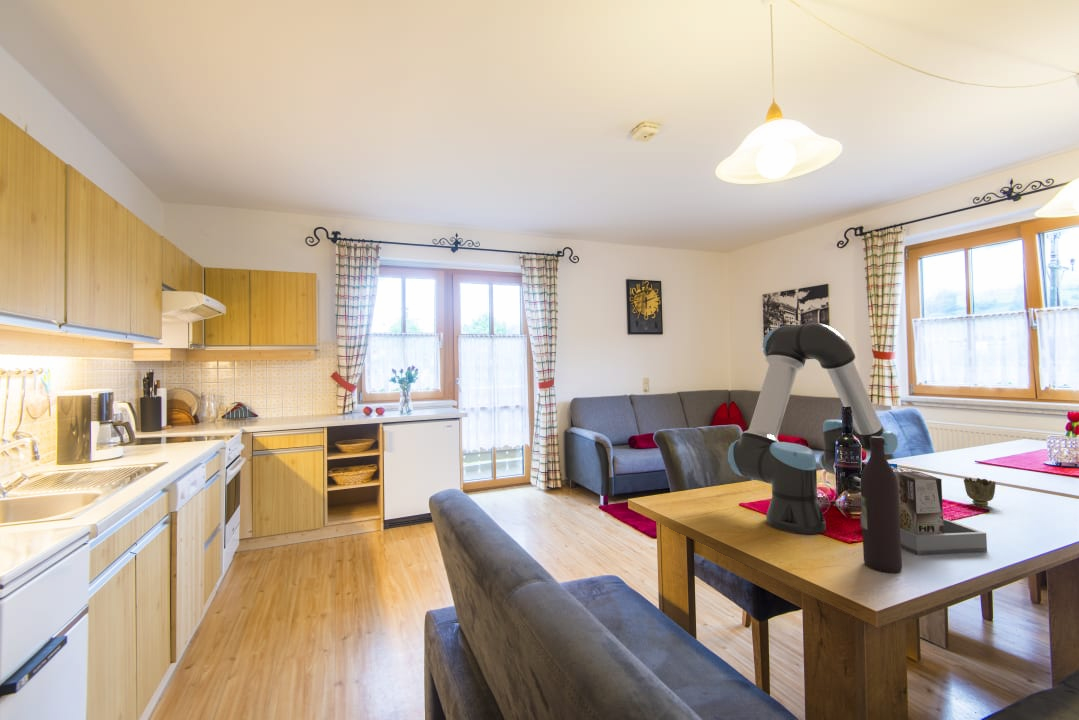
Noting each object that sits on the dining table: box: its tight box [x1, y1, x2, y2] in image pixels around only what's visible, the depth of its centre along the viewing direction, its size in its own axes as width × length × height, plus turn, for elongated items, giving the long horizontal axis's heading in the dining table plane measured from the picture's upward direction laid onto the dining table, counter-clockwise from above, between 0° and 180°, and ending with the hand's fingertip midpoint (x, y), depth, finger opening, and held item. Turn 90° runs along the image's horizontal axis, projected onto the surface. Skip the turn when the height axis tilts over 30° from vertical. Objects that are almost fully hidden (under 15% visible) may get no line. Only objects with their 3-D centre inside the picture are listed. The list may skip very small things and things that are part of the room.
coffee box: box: [894, 470, 944, 535], centre depth 119 cm, size 9×6×16 cm
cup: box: [963, 477, 996, 507], centre depth 145 cm, size 8×7×8 cm
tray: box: [859, 512, 988, 556], centre depth 119 cm, size 18×18×4 cm
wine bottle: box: [860, 436, 903, 574], centre depth 104 cm, size 7×7×30 cm
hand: (893, 487), depth 129 cm, fingers open, 13 cm apart
